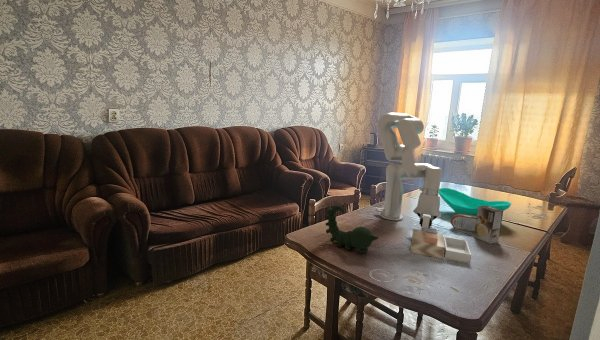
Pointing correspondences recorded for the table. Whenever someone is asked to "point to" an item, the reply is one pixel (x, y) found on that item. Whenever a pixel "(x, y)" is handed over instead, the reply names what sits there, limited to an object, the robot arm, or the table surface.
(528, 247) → the table surface
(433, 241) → the tile terracotta
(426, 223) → the scraper
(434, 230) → the tile slate
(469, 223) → the tin
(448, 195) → the table top decor
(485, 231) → the coffee box
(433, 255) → the wood grain block
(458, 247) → the box
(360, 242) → the toy figurine
